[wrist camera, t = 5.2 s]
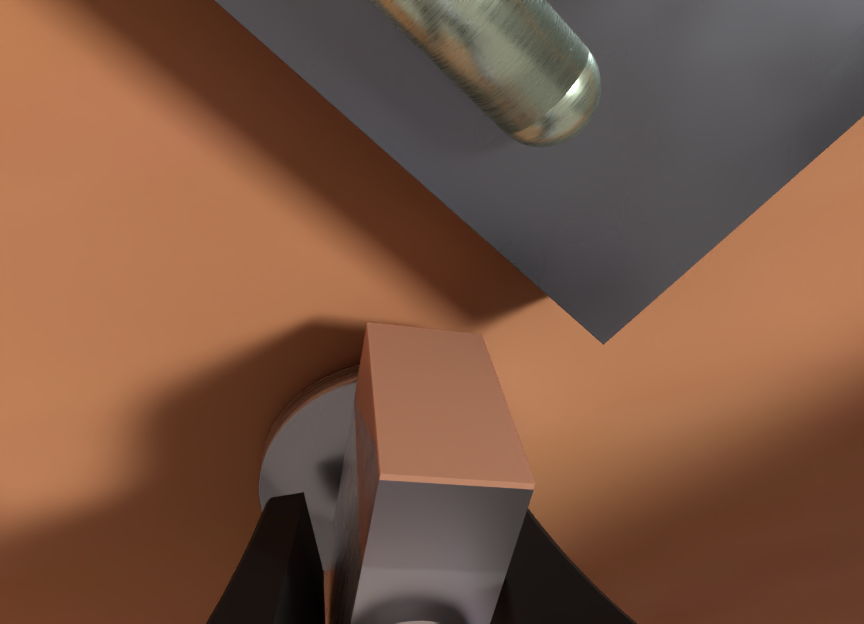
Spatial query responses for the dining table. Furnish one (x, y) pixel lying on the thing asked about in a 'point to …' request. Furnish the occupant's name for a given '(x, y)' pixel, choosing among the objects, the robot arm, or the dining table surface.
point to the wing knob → (406, 478)
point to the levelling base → (586, 119)
